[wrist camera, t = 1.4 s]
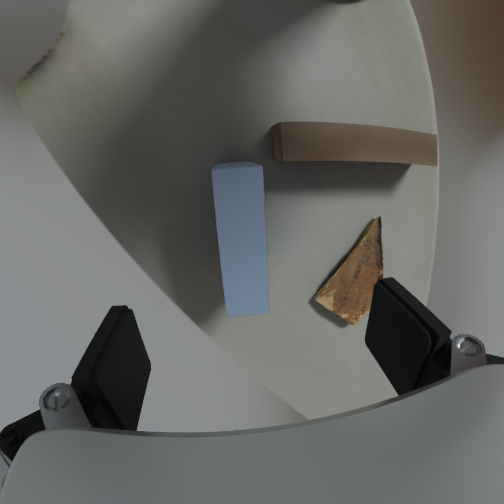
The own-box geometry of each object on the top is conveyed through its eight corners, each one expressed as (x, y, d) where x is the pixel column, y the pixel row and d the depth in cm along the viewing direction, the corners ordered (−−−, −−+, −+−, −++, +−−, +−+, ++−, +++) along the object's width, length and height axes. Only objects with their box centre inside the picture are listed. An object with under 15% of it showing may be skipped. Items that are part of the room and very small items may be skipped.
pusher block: (226, 270, 27) (227, 317, 19) (216, 163, 23) (211, 170, 16) (257, 267, 27) (269, 312, 19) (250, 160, 23) (262, 166, 16)
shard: (373, 212, 26) (381, 216, 25) (411, 251, 29) (420, 257, 27) (309, 293, 29) (313, 302, 27) (353, 322, 31) (359, 330, 29)
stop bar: (271, 126, 22) (280, 121, 18) (412, 134, 23) (436, 135, 19) (273, 159, 23) (283, 161, 20) (413, 162, 24) (437, 166, 21)
